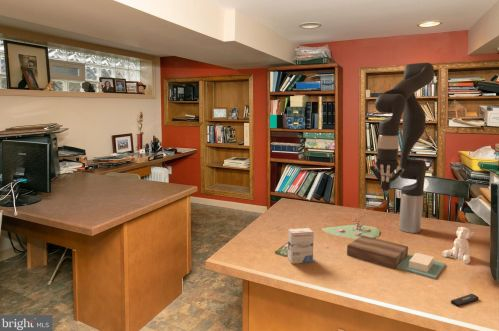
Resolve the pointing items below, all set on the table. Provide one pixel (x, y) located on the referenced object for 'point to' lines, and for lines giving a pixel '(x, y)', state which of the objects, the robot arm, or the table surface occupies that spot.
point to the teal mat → (432, 272)
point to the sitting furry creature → (460, 246)
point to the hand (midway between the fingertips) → (385, 190)
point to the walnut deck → (377, 251)
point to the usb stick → (464, 300)
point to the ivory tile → (421, 262)
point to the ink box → (300, 245)
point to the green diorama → (353, 230)
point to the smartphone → (283, 250)
